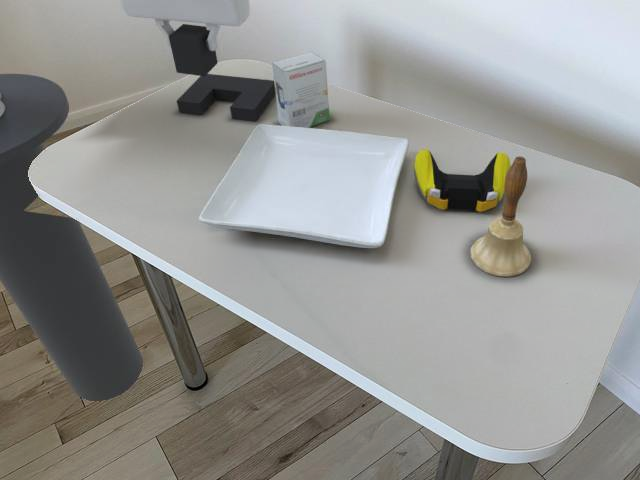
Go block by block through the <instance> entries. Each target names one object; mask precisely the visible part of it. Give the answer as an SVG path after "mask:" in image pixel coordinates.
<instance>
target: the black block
mask: <svg viewBox="0 0 640 480" xmlns="http://www.w3.org/2000/svg"><path fill="white" fill-rule="evenodd" d="M209 33H210V30H207V29H206V25H205V26H204V25H196V24H189V23H188V24H186V23H182V24H181V25H180V26H178V27H177V28H176V29H175V30H174V32H173V33H172V34H171V35H169V41H170V45H171V47H170V48H171V53H172V58H173V62H174V66H175V71H176V73H177V74H184V75H190V76H198V77H200V76H206V75H207V74H210V72H211V71H212V70H213V69H214V68H215V66H216V65H217V64H218V63H219V62H218V57H217V51H216V50H217V49H216V50H215V51H208V50H205V48H204V43H203V40H204V39H205V38H206V37H207V36H209Z"/></svg>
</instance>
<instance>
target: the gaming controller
mask: <svg viewBox="0 0 640 480" xmlns="http://www.w3.org/2000/svg"><path fill="white" fill-rule="evenodd" d="M511 165H512V163H511V160H510V157H509V155H508V153H503V152H501V151H499V152H497V153H496V154H495V155H494V157H492V159H491V160H490V161H489V163H488V164H487V166H486V167H485V169H484V170H483V171H482V172H481V173H479V174H457V173H446V172H444V171H442V170H440V169H439V166H438V164H437V162H436V160H435V158H434V156H433V154H432V152H431V151H430V149H428V148H424V149H421V150H419V151H418V152H417V154H416V155H415V158H414V165H413V173H414V177H415V181H416V185H417V188H418V190H419V193H420V195H421V197H422V198H423V200H424V201H426V203H427V204H429V205H431V206H434V207H435V208H437V209H439V210H442V211H444V210H452V211H453V210H456V211H474V212H475V211H477V212H479V213H482V212H485V211H487V210H490V209H493V208H496V207H497V205H500V203H501V202H502V200H503V198H504V196H505V191H504V185H505V178H506V175H507V172H508V170H509V168H510V167H511Z"/></svg>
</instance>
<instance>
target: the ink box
mask: <svg viewBox="0 0 640 480" xmlns="http://www.w3.org/2000/svg"><path fill="white" fill-rule="evenodd" d="M271 66H272V67H271V68H272V76H273V81H274V84H275V92H276V94H275V98H276V108H277V109H276V110H277V118H278V123H279V124H280V126H291V127H304V128H312V127H314V126H317V125H320V124H322V123H325V122H329V121H330V105H329V104H330V103H329V91H328V89H329V87H328V73H327V60H326V59H324V58H323V57H322V56H320V55H318V54H316V53H315V52H307V53H304V54H300V55H297V56H293V57H289V58H286V59H282V60H278V61H277V60H276V61H274V62H272V63H271Z"/></svg>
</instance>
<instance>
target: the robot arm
mask: <svg viewBox="0 0 640 480" xmlns="http://www.w3.org/2000/svg"><path fill="white" fill-rule="evenodd" d="M119 1H120V5H121V8H122V11H124V13H125V14H126V15H127V16H128V17H131V18H132V17H133V18H143V19H153V20H155V21H154V22H155V24H156V26H157V28H158V29H159V30H160V31H161V33H162V34H163V35H164V36H165V37H166V41H167V46H168V47H170V48H171V45H170V41H169V35H171V34H172V33H173V32H174V31H175V30H174V29H173V26H172V25H171V24H170V22H171V21H175V22H185V23H195V24H205V27H206V29H207V30H210V33H209V36H207V37H206V38H205V39H204V40H203V43H204V48H205V50H208V51H215V50H217V49H218V41H217V36H218V33H219V31H220V29H221V26H226V27H227V26H228V27H240V26H242V25H243V24H244V23H245V22H246V21H247V20H248V19H249V17H250V15H251V8H250V7H251V6H250V1H249V0H119ZM4 111H5V105H4V104H3V102H2V101H1V94H0V117H1V116H2V114H3V113H4Z"/></svg>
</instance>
